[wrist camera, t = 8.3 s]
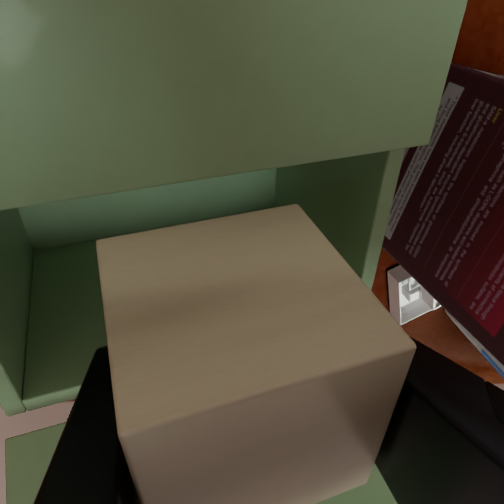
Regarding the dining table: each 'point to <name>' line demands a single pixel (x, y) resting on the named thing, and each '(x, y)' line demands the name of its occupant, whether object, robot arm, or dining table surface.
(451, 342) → the dining table surface
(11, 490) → the flap
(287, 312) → the block
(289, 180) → the carton
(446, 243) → the supplement box
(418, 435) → the robot arm
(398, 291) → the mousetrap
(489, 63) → the dining table surface
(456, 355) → the dining table surface
